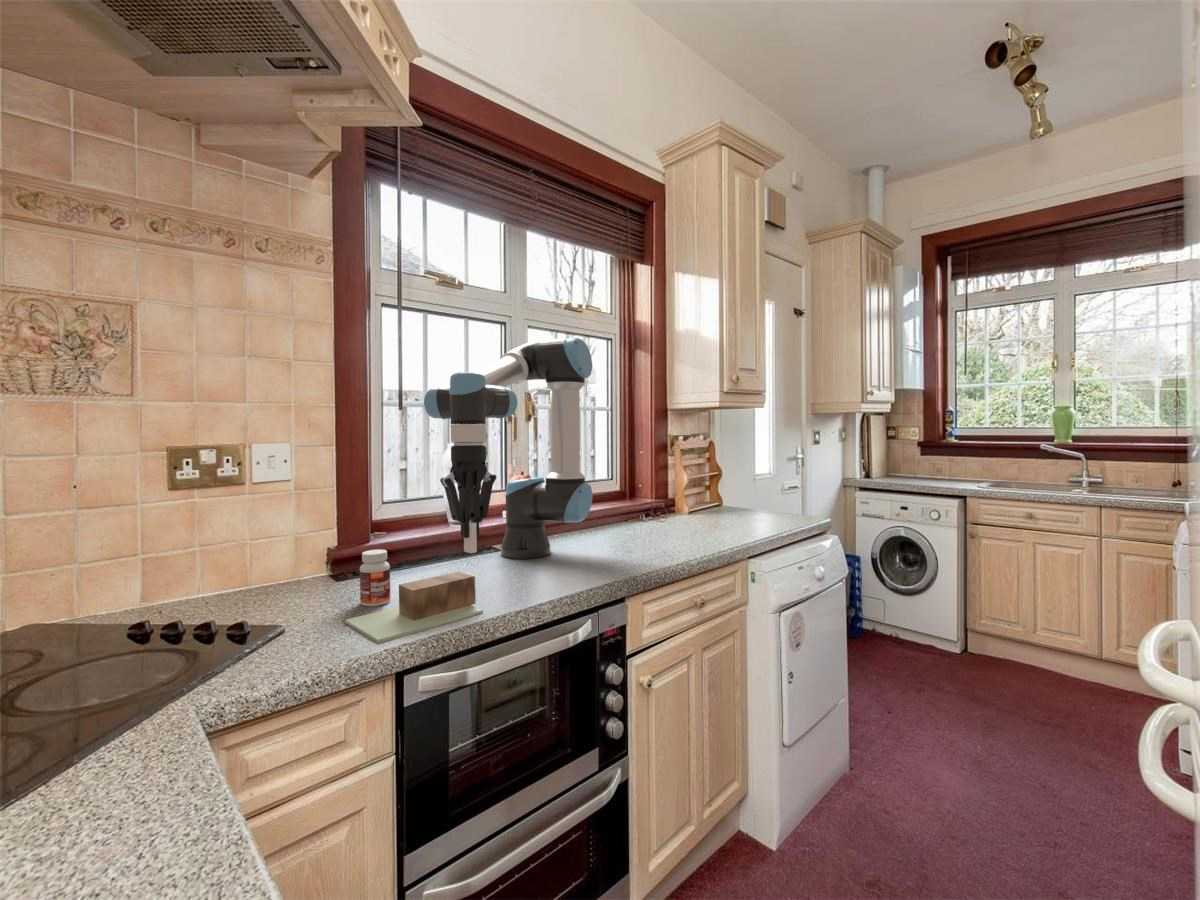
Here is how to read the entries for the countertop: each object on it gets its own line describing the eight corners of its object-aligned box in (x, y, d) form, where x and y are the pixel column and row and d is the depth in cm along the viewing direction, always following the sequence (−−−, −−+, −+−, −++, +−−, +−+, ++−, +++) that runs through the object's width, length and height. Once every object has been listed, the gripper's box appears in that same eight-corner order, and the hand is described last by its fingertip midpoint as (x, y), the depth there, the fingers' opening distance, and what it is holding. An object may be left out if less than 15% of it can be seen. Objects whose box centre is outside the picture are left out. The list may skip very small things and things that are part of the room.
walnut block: (460, 571, 120) (398, 584, 110) (475, 576, 116) (412, 590, 106) (460, 597, 121) (399, 613, 110) (475, 603, 116) (413, 620, 106)
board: (445, 597, 123) (445, 594, 123) (482, 612, 112) (482, 609, 112) (345, 622, 107) (345, 619, 107) (378, 643, 97) (378, 639, 97)
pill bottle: (372, 609, 115) (371, 556, 115) (354, 604, 118) (353, 553, 118) (396, 601, 121) (395, 550, 120) (378, 597, 124) (377, 547, 123)
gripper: (484, 443, 125) (485, 544, 126) (432, 444, 116) (434, 554, 117) (503, 443, 120) (505, 549, 121) (450, 445, 110) (453, 559, 111)
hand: (470, 551), depth 119 cm, fingers closed
